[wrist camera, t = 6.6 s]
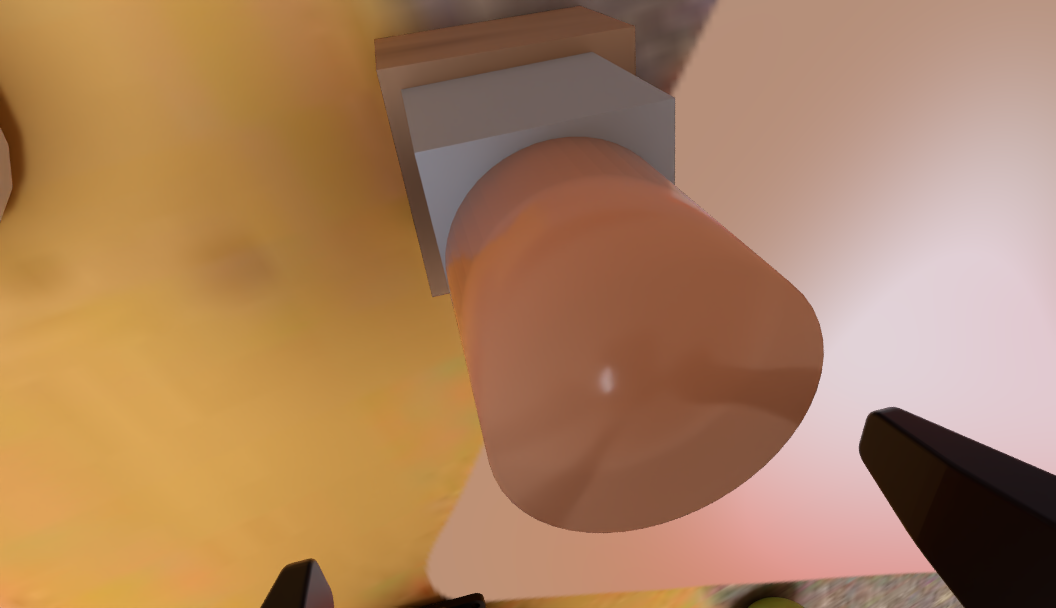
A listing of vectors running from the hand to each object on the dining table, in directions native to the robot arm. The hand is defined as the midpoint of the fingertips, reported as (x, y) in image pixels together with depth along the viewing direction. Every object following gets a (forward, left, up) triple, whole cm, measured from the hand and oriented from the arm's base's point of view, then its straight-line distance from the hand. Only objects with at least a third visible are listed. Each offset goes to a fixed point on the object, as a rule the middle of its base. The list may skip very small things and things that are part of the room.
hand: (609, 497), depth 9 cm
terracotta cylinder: (+2, -1, -4) cm, 4 cm away
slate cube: (+3, -1, -8) cm, 9 cm away
